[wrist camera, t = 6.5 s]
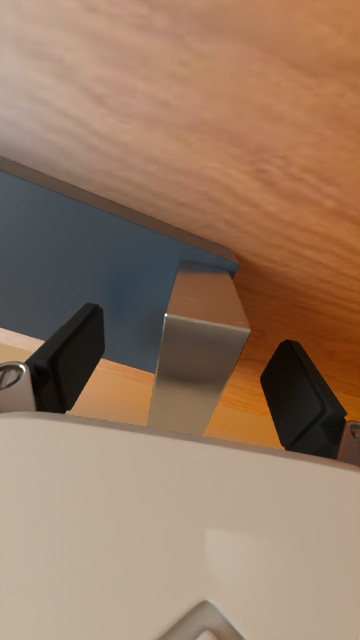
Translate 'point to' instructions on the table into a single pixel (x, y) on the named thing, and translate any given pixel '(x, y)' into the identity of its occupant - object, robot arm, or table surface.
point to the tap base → (89, 263)
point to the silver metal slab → (196, 348)
